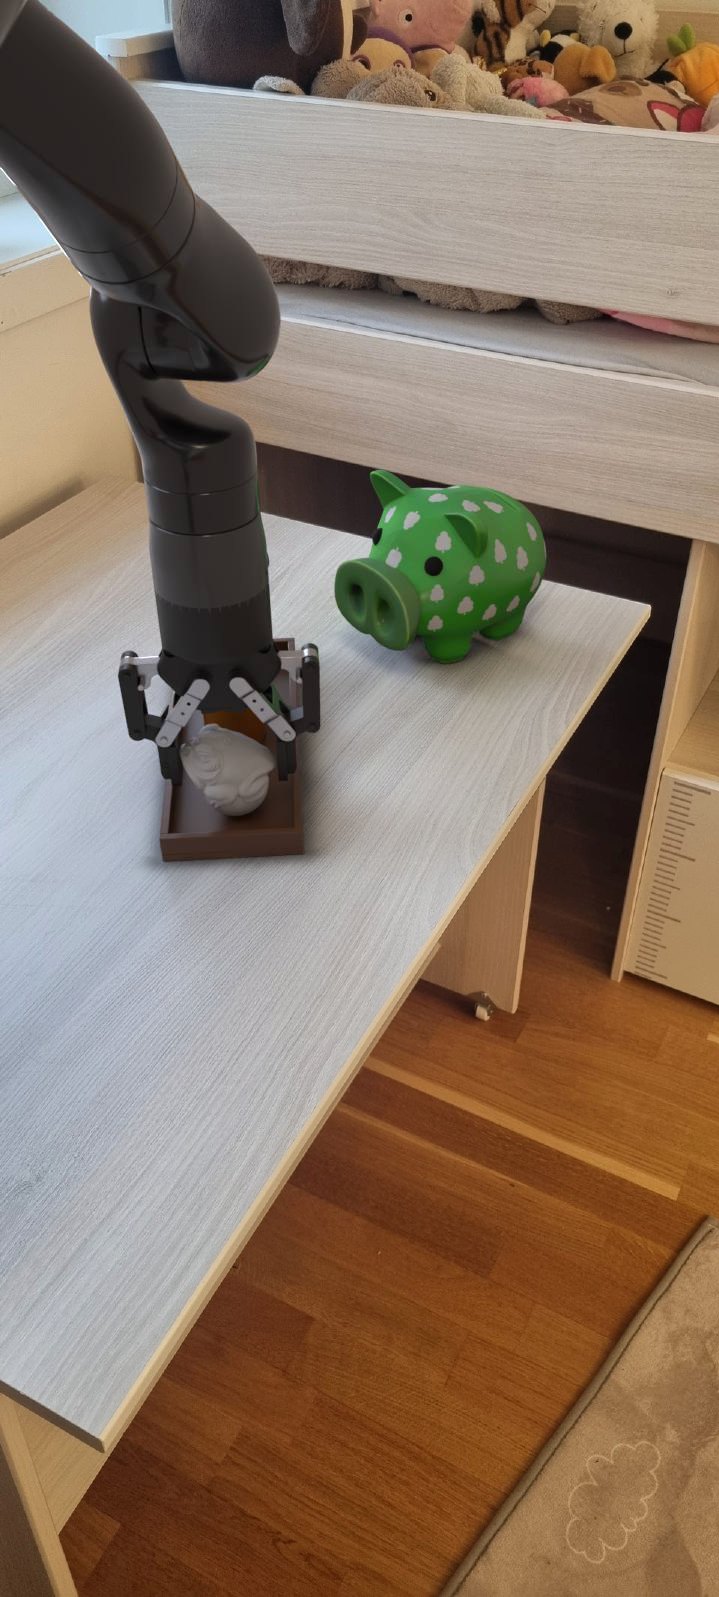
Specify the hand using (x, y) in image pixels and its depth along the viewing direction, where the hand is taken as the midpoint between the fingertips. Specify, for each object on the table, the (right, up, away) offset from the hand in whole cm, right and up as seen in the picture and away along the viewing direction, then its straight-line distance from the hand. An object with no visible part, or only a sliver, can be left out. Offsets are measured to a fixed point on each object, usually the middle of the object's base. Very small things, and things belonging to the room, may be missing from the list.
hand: (230, 776), depth 88 cm
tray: (-1, +2, +9) cm, 9 cm away
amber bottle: (-1, +4, +9) cm, 10 cm away
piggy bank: (+17, +13, +23) cm, 32 cm away
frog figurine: (0, -3, +2) cm, 3 cm away
